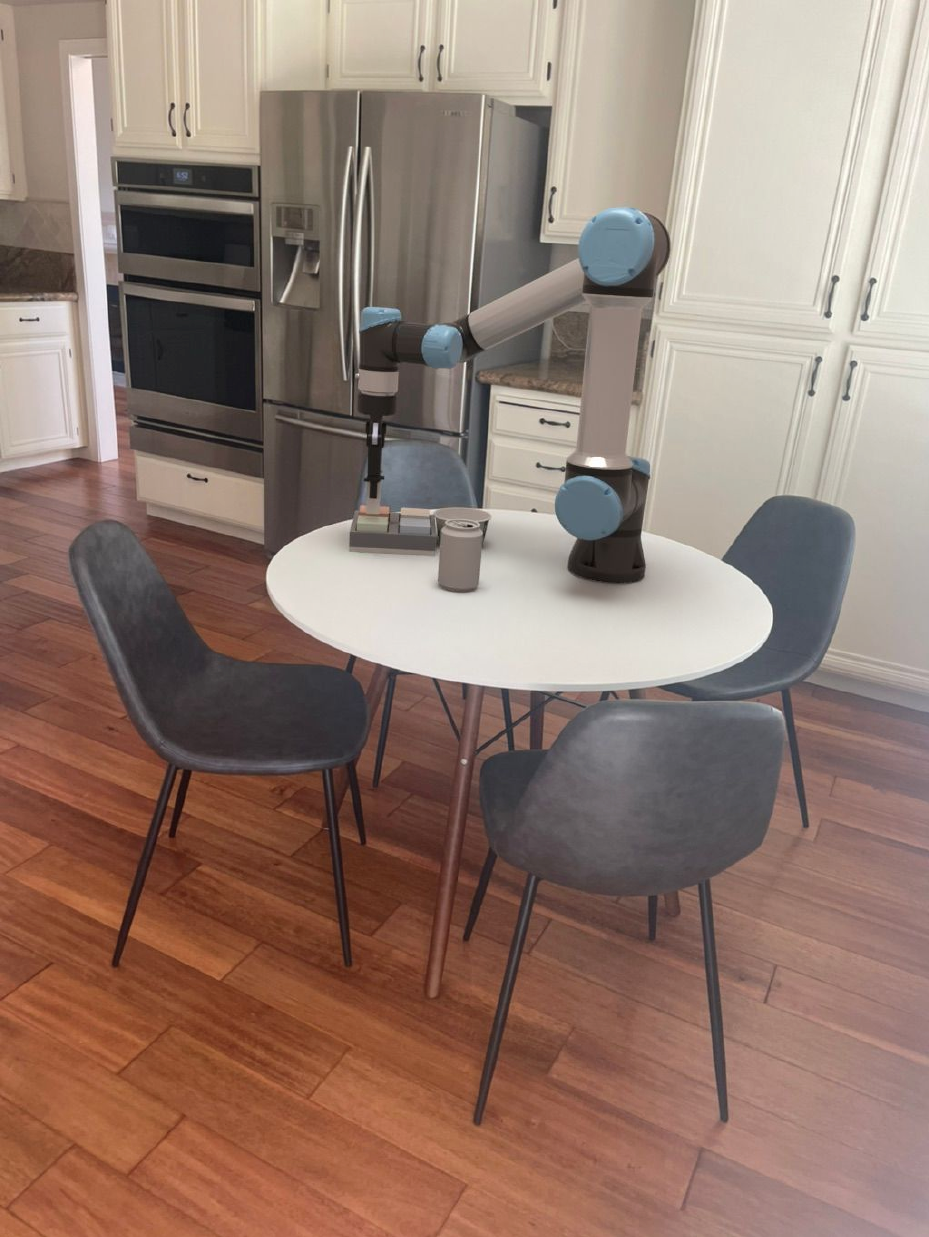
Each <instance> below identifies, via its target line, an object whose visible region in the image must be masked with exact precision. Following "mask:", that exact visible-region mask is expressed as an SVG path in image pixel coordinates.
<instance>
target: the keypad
mask: <svg viewBox="0 0 929 1237" xmlns="http://www.w3.org/2000/svg"><path fill="white" fill-rule="evenodd" d="M359 511H360V510H354V514H353V517H352V522H351V526H350V529H349V542H348V543H349V546H348V547H349V548H348V551H349V552H350V553H351V552H353V553H354V552H355V553H369V554H370V553H371V554H387V555H389V554H392V555H394V554H395V555H407V556H408V555H409V556H424V557H425V556H427V557H436V551H437V550H436V548H437V525H436V517H435V516H434V515H433V514H430V535H421V534H403V533H400V518H401V512H391V511H389V521H388V531H387V533H385V532H367V531H357V520H358V516H359Z"/></svg>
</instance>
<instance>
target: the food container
mask: <svg viewBox="0 0 929 1237" xmlns="http://www.w3.org/2000/svg"><path fill="white" fill-rule="evenodd" d="M432 515H434V516H435V524H436V534H437V539H438V545H439V546H440V539H441V529H442V528H443V527H444V526H445V525H446V524H445V522H446V521H447V520H450V519H468V520H473V521H476V522H478V523H479V524H480V527H479V528H480V529H481V531H482V532H483V538H482V548H483V547H484V542H485V540H486V539H485V538H486V534H487V530H488V525H489V522H490V520H491V519H492V514H491V513H489V512H488V511H485V510H482V509H478V508H471V507H460V506H459V507H458V506H456V507H455V506H454V507H443V508H438V509H436V510H435V511H433V514H432Z"/></svg>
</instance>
